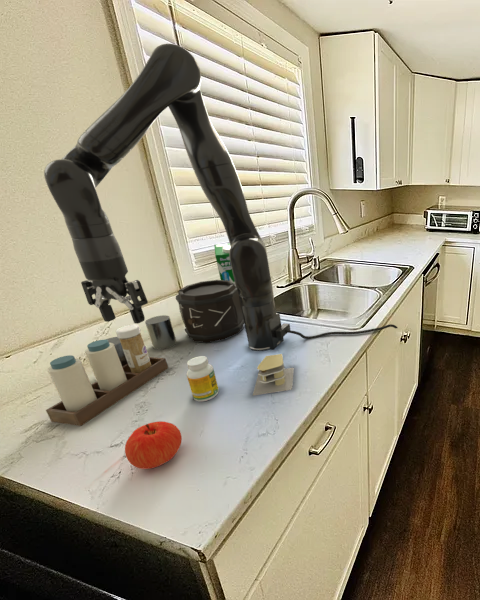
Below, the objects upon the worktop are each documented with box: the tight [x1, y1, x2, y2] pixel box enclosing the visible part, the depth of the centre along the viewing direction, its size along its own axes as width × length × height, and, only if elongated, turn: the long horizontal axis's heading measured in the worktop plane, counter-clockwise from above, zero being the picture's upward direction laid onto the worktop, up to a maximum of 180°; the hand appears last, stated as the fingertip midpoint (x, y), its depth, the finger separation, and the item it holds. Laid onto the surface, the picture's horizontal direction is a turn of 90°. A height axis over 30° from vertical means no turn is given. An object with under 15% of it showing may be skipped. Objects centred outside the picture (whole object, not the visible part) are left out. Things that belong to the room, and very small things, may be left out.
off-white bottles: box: [47, 339, 127, 412], centre depth 73 cm, size 5×12×13 cm, turn 170°
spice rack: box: [45, 356, 169, 427], centre depth 78 cm, size 8×22×4 cm, turn 170°
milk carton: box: [213, 242, 236, 286], centre depth 123 cm, size 9×9×25 cm
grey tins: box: [104, 314, 178, 366], centre depth 92 cm, size 6×20×9 cm, turn 170°
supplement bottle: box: [186, 355, 220, 403], centre depth 76 cm, size 5×5×10 cm
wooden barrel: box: [175, 279, 245, 344], centre depth 106 cm, size 18×18×16 cm
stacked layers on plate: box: [252, 353, 295, 397], centre depth 81 cm, size 10×9×6 cm
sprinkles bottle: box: [115, 323, 152, 373], centre depth 82 cm, size 5×5×13 cm
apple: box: [124, 420, 183, 470], centre depth 59 cm, size 8×8×8 cm
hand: (125, 321), depth 79 cm, fingers open, 8 cm apart
